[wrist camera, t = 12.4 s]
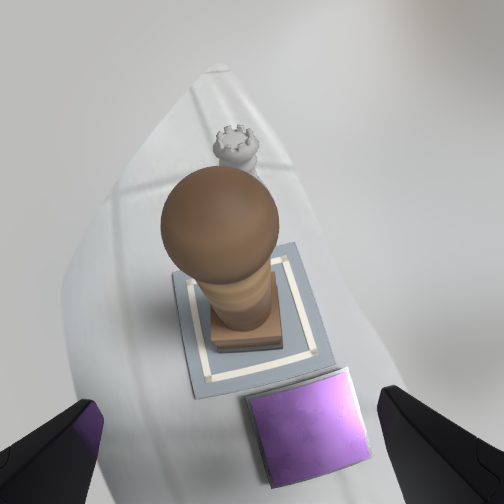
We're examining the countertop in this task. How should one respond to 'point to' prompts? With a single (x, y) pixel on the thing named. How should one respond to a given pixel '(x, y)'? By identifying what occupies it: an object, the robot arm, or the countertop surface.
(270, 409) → the ink pad
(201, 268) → the wooden ball finial
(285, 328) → the marked card
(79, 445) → the robot arm
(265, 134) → the countertop surface
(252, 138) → the rook chess piece
